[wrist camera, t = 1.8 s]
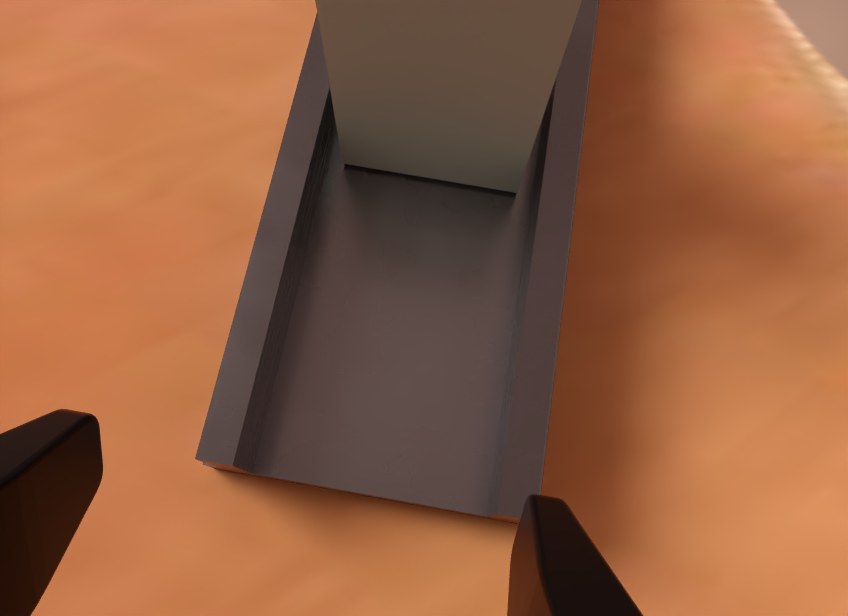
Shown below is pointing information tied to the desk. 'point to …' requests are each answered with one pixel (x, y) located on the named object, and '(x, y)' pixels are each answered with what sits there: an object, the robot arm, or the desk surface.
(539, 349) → the steel chute
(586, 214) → the desk surface
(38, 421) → the robot arm
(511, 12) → the block
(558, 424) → the desk surface
